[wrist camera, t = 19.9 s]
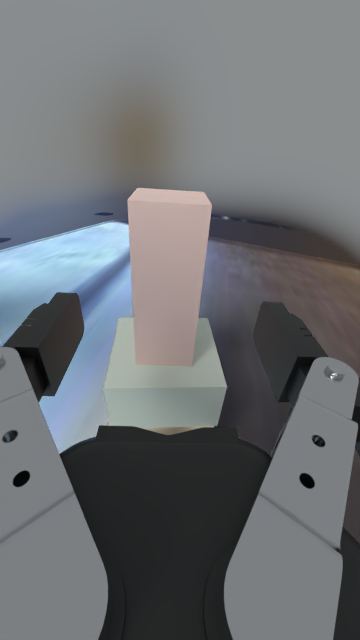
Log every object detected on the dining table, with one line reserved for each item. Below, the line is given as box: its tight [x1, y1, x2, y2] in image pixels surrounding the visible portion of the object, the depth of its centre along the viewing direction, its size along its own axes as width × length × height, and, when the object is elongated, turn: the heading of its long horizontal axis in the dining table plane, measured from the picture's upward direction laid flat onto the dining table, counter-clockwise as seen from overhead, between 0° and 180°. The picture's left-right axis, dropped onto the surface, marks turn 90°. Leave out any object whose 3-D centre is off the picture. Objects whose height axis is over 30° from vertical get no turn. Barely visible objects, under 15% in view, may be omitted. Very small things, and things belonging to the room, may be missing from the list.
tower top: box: [103, 317, 227, 428], centre depth 24 cm, size 9×9×5 cm
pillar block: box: [128, 188, 212, 366], centre depth 19 cm, size 4×4×12 cm
